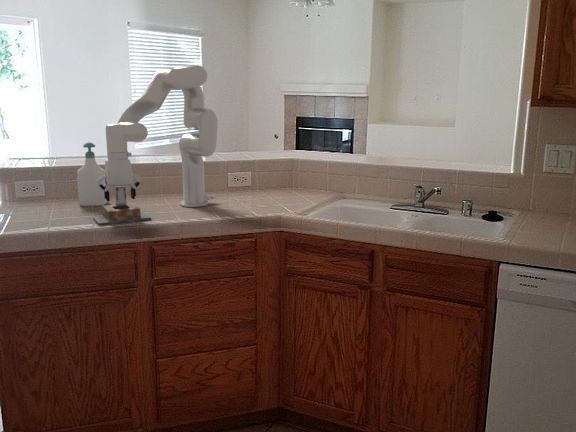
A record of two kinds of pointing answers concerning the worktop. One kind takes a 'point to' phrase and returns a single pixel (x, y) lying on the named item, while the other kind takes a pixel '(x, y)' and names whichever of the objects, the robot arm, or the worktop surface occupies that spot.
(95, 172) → the soap bottle
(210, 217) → the worktop surface
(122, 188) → the grey metallic cylinder
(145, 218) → the docking mount
